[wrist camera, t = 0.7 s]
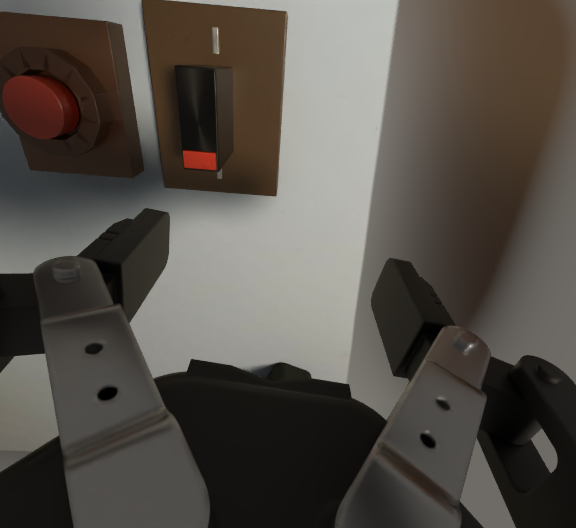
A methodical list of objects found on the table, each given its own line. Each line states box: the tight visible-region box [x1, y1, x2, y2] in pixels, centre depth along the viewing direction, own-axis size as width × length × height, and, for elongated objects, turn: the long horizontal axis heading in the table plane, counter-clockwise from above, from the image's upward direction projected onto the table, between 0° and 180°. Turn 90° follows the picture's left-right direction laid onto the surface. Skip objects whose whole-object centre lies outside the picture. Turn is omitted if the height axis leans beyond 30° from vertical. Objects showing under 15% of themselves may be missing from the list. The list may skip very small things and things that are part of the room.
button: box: [3, 75, 79, 139], centre depth 21 cm, size 4×4×2 cm
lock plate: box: [142, 0, 288, 196], centre depth 24 cm, size 12×9×2 cm
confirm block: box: [0, 12, 144, 178], centre depth 23 cm, size 10×8×4 cm
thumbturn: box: [175, 65, 233, 172], centre depth 21 cm, size 6×2×6 cm, turn 176°
